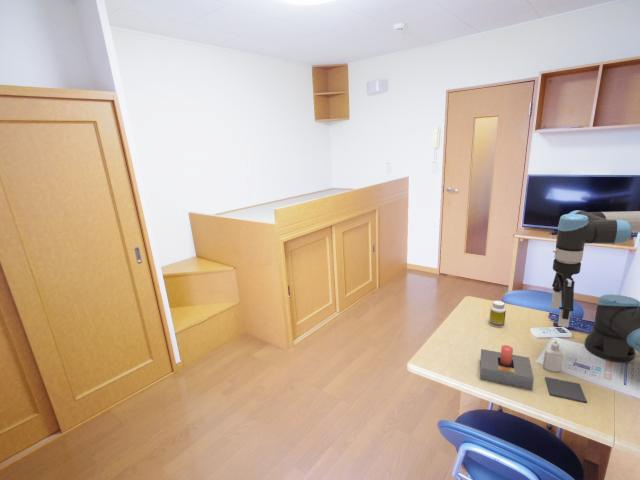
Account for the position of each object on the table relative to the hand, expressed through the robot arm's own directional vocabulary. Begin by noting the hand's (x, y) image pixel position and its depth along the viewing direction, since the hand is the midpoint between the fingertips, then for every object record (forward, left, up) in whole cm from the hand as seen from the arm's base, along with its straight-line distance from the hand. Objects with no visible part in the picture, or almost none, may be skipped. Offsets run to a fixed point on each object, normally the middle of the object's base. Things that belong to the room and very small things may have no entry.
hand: (558, 316), depth 118 cm
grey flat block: (+16, +9, -22) cm, 28 cm away
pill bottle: (+17, -28, -22) cm, 39 cm away
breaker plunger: (+16, +9, -17) cm, 25 cm away
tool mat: (-2, +11, -22) cm, 24 cm away
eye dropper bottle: (0, 0, -22) cm, 22 cm away
